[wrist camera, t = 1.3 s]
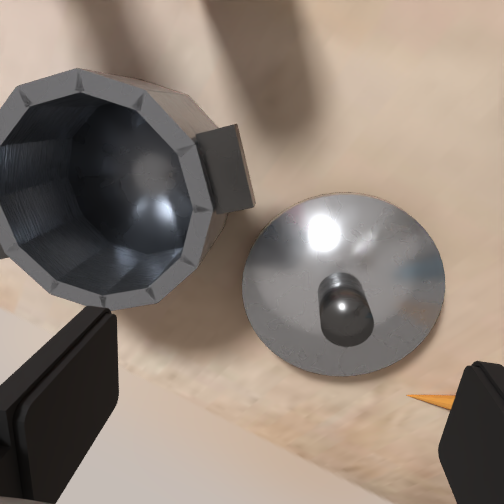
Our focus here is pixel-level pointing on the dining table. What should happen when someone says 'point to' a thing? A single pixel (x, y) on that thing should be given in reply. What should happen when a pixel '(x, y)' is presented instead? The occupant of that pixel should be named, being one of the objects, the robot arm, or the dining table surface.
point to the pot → (113, 186)
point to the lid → (343, 284)
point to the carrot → (437, 400)
